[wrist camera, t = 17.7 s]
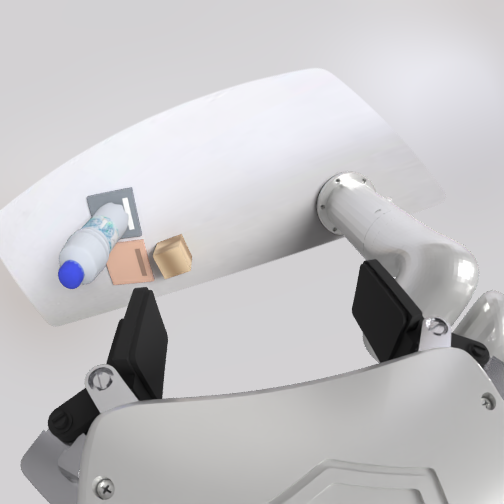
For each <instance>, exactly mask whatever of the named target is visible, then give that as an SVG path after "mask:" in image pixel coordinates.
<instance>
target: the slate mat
mask: <svg viewBox="0 0 504 504" xmlns="http://www.w3.org/2000/svg"><path fill="white" fill-rule="evenodd" d="M87 200H88V204H89V208H90V212H91V216H92V217H93V215H94V214H95V213H96V211H97V210H98V209H99V208H100V207H102V206H103V205H105V204H107V203H111V202H112V203H113V204H119V205H122V206H123V209H124V211H125V212H126V213H127V214H128V216H129V220H128V227H127V229H126V231H125V233H124V234H123V235H122V237H121V238H120V239H122V238H129V237H136V236H142V231H141V227H140V223H139V218H138V214H137V209H136V205H135V200H134V195H133V190H132V187H131V188H126V189H121V190H115V191H110V192H105V193H100V194H96V195H91V196H88V197H87Z"/></svg>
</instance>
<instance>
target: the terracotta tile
mask: <svg viewBox="0 0 504 504" xmlns="http://www.w3.org/2000/svg"><path fill="white" fill-rule="evenodd" d="M106 265H107V267H108V270H109V273H110V276H111V279H112V281H113V284H114V285H119V284H130V283H140V282H150V281H154V277H153V273H152V270H151V266H150V263H149V259H148V255H147V251H146V247H145V243H144V239H141V240H133V241H126V242H119V243H116V244H115V246H114V248H113V249H112V251H111V252H110V254H109V259H108V261H107V263H106Z"/></svg>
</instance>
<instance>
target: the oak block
mask: <svg viewBox="0 0 504 504" xmlns="http://www.w3.org/2000/svg"><path fill="white" fill-rule="evenodd" d="M153 258H154V260H155V262H156V263H157V265H158V267H159V269H160V271H161V273H162V274H163V276H164V278H165V279H167V278H170V277H173V276H176V275H179V274H182V273H185V272H188V271H191V262H192V255H191V253H190V251H189V249H188V247H187V245H186V243H185V240H184V238H183V236H182V234H180V235H178V236H175V237H172V238H169V239H167V240H164V241H161V242H158V243H157V245H156V248H155V251H154V254H153Z"/></svg>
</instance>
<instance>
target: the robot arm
mask: <svg viewBox="0 0 504 504" xmlns="http://www.w3.org/2000/svg"><path fill="white" fill-rule="evenodd" d="M336 179H337V181H336ZM362 179H363V180H362ZM321 205H322V206H321ZM317 213H318V216H319V219H320V221H321V222H322V224H323V225H324V226H325V227H326V228H327V229H328V230H329V231H330V232H332V233H334V234H338V235H344V236H345V237H346V238H347V239H348V240H349V242H350V243H351V244H352V245H353V246H354V247H355V248H356V249H357V250H358V251H359V253H360V254H361V255H362V256H363V257H364V258H365V259H366V261H364V262H363V264H361V266H360V270H359V276H358V282H357V287H356V292H355V297H354V302H353V306H352V313H353V316H354V318H355V319H356V321H357V323H358V325H359V326H360V328H361V330H362V331H363V341H364V344H365V347H366V349H367V350H368V352H369V353H370V355H371V356H372V357H373V358H374V359H375V360H376V361H377V362H378V363H379V364H376V365H372V366H369V367H365V368H362V369H358V370H354V371H351V372H347V373H343V374H339V375H335V376H331V377H326V378H322V379H317V380H313V381H308V382H303V383H298V384H293V385H287V386H282V387H276V388H269V389H263V390H256V391H249V392H241V393H232V394H223V395H212V396H200V397H186V398H168V399H162V394H163V381H164V371H165V362H166V352H167V344H168V337H167V332H166V329H165V327H164V324H163V321H162V318H161V315H160V312H159V310H158V306H157V303H156V300H155V297H154V294H153V291H152V290H148V288H147V287H143V288H135V289H134V290H133V293H132V296H131V299H130V302H129V305H128V308H127V311H126V314H125V317H124V319H121V320H120V321H119V324H118V327H117V330H116V333H115V336H114V339H113V343H112V346H111V350H110V353H109V356H108V360H107V364H102V365H97V366H95V367H93V368H92V369H91V370H89V372H88V373H87V375H86V377H85V386H86V388H85V389H84V390H82V391H81V392H79V393H78V394H77V395H75V396H74V397H72V398H71V399H69V400H68V401H66V402H65V403H64V404H62V405H61V406H59V407H58V408H56V409H55V410H54V411H53V412H52V413H51V415H50V416H49V420H48V427H49V429H48V430H47V431H46V432H45V431H42V433H41V434H40V436H39V437H38V438H37V439H36V440H35V442H34V443H33V444H32V446H31V447H30V448H29V450H28V451H27V452H26V453H25V455H24V456H23V458H22V460H21V470H22V472H23V474H24V475H25V476H26V477H27V479H28V480H29V481H30V482H31V483H32V485H33V486H34V487H35V488H36V489H37V490H38V491H39V492H40V494H41V495H42V496H43V497H44V498H45V499H46V500H47V501H48V502H49V503H50V504H504V294H502V293H500V292H497V291H492V290H491V291H487V292H486V293H484V294H483V295H482V296H481V297H480V298H479V299H478V300H477V301H476V302H475V304H474V305H473V306H472V307H471V309H470V310H469V311H468V313H467V314H466V316H465V317H464V318H463V319H462V321H461V322H460V323H459V325H458V326H457V327H456V329H455V330H454V331H453V332H452V333H451V326H452V325H453V324H454V322H455V321H456V320H457V318H458V317H459V316H460V314H461V313H462V311H463V310H464V309H465V307H466V306H467V304H468V303H469V301H470V299H471V298H472V295H473V294H474V291H475V289H476V287H477V283H478V279H479V267H478V263H477V260H476V258H475V257H474V255H473V254H472V253H471V252H470V251H469V250H468V249H467V248H466V247H464V246H463V245H462V244H460V243H458V242H457V241H455V240H453V239H451V238H449V237H447V236H445V235H443V234H441V233H439V232H437V231H435V230H433V229H431V228H429V227H428V226H426V225H425V224H423V223H422V222H420V221H418V220H417V219H415V218H414V217H412V216H411V215H410V214H408V213H407V212H405V211H404V210H402V209H401V208H399V207H398V206H396V205H395V204H393V203H392V200H391V197H383V196H381V195H379V194H378V193H376V190H375V187H374V185H373V184H372V182H371V181H370V180H369V179H368V178H367V177H365V176H364V175H362V174H360V173H357V172H343V173H340V174H337V175H335V176H334V177H332V178H331V179H330V180H329V181H328V182H327V183H326V184H325V185H324V187H323V188H322V190H321V192H320V194H319V197H318V201H317ZM393 277H396V278H395V279H394V278H393ZM79 470H80V471H79ZM78 472H79V478H78Z"/></svg>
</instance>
